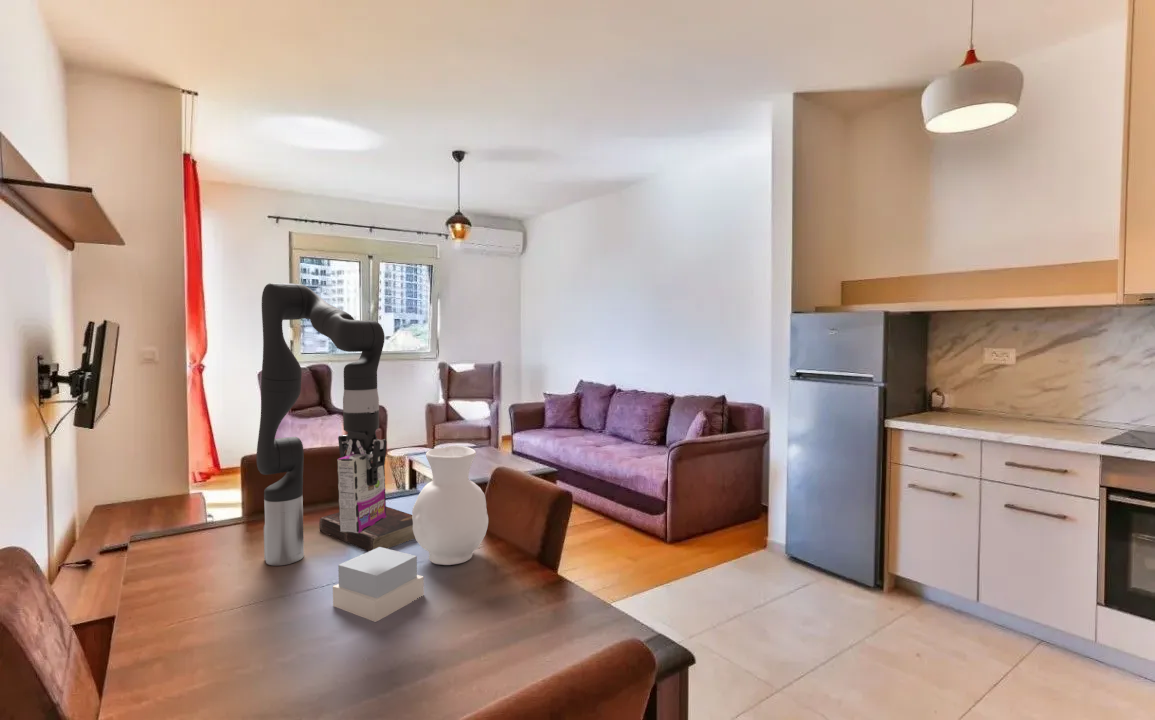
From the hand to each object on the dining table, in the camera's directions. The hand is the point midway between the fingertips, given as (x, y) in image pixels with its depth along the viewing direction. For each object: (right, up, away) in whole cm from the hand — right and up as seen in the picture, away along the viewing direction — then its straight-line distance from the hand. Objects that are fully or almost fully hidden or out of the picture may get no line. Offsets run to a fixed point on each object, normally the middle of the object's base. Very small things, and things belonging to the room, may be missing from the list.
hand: (362, 482), depth 125 cm
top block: (+3, -23, +3) cm, 24 cm away
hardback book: (-15, -26, +47) cm, 55 cm away
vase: (+14, -27, +26) cm, 40 cm away
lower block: (+3, -28, +3) cm, 29 cm away
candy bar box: (0, -10, 0) cm, 10 cm away
